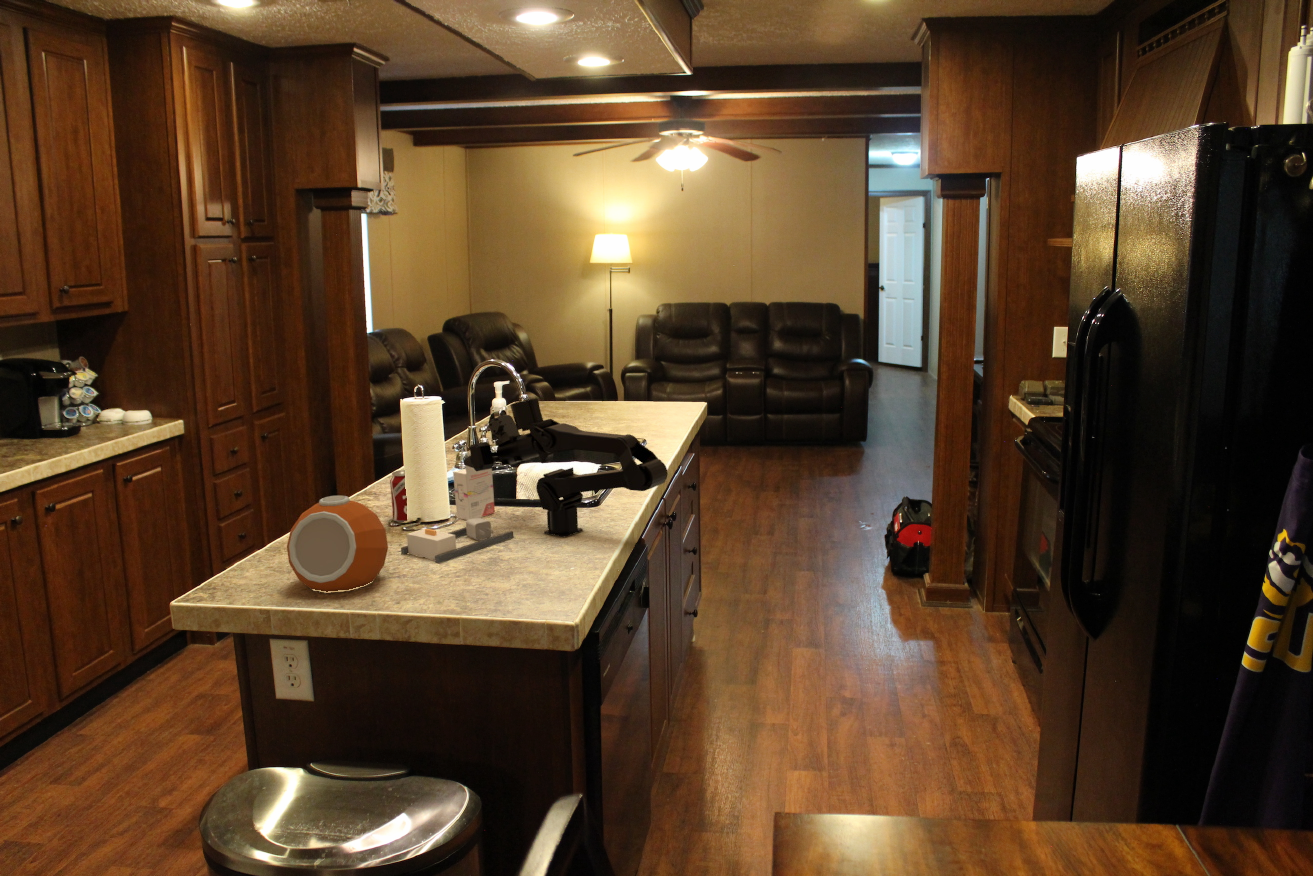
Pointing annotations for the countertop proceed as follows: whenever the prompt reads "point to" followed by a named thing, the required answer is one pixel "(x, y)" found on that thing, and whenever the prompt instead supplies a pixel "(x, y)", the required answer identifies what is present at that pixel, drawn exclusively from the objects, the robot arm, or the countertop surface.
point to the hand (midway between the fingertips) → (478, 460)
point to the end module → (430, 543)
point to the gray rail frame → (469, 547)
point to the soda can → (398, 496)
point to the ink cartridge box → (473, 493)
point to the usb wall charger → (478, 528)
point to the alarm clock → (337, 545)
